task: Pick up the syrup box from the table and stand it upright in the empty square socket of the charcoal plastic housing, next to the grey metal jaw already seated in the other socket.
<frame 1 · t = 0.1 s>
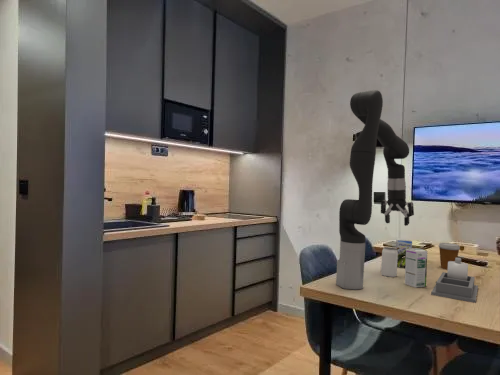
hand: (397, 224, 169), 22 cm above the table, tool pointing down, fingers open, 8 cm apart
passion flower: (403, 266, 188), on the table
housing: (455, 291, 145), on the table
medicine box: (403, 255, 219), on the table
disposable coffee cup: (447, 268, 187), on the table
syrup box: (415, 286, 151), on the table
can: (388, 275, 166), on the table
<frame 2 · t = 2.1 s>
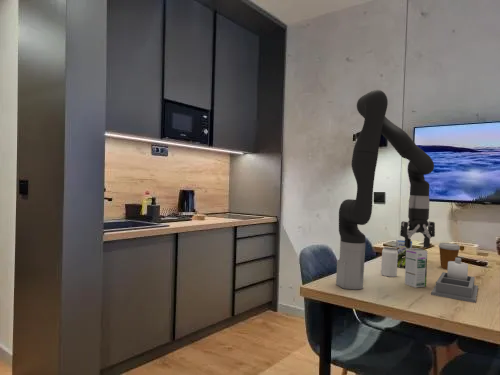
hand: (417, 247, 151), 15 cm above the table, tool pointing down, fingers open, 8 cm apart
nothing on the table moved.
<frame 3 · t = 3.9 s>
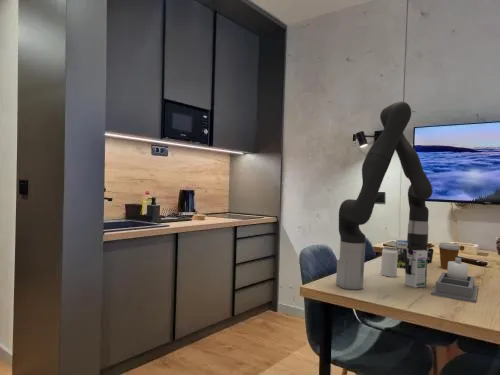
hand: (415, 273, 151), 5 cm above the table, tool pointing down, fingers closed on syrup box, 6 cm apart
syrup box: (415, 285, 151), on the table, touching gripper
everything else where it was.
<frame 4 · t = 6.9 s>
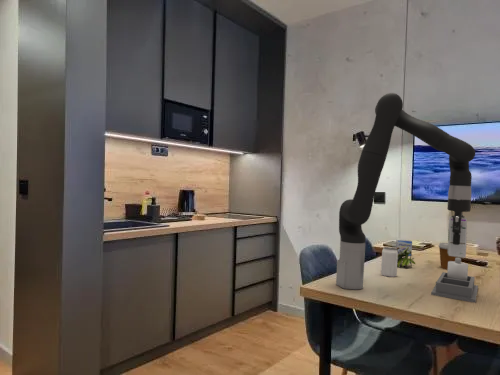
hand: (456, 243, 140), 19 cm above the table, tool pointing down, fingers closed on syrup box, 6 cm apart
syrup box: (456, 256, 141), point 14 cm above the table, touching gripper
everything else where it was.
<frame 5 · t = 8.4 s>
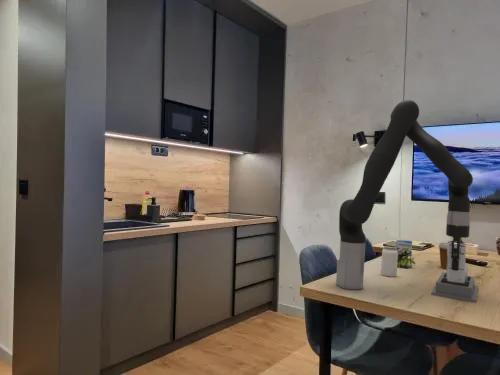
hand: (455, 268, 141), 10 cm above the table, tool pointing down, fingers closed on syrup box, 6 cm apart
syrup box: (454, 281, 141), point 5 cm above the table, touching gripper
everything else where it was.
when the fingers open (7 cm above the table, at t = 9.9 s): syrup box drops 1 cm, resting on housing.
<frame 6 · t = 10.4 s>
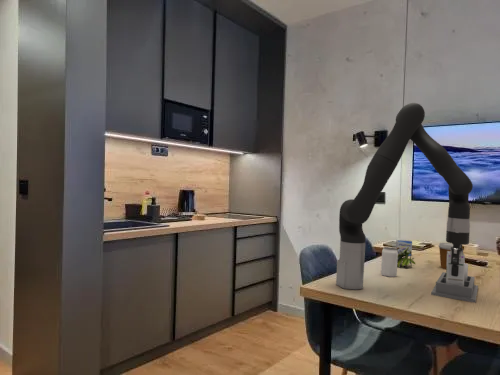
hand: (455, 273, 141), 8 cm above the table, tool pointing down, fingers open, 8 cm apart
syrup box: (454, 292, 141), point 1 cm above the table, touching housing
everything else where it was.
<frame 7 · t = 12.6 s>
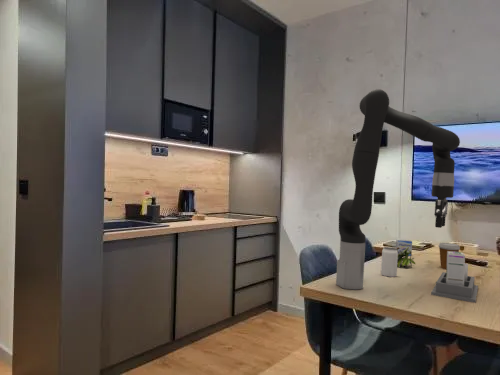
hand: (440, 226, 146), 24 cm above the table, tool pointing down, fingers open, 8 cm apart
nothing on the table moved.
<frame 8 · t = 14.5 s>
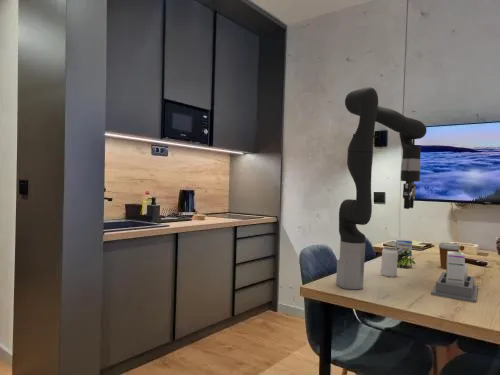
hand: (408, 208, 160), 30 cm above the table, tool pointing down, fingers open, 8 cm apart
nothing on the table moved.
at the end: syrup box 0.1 cm from the target spot on the housing, point 0.8 cm above the housing's base; syrup box tilted 0°; the gripper is holding nothing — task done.
